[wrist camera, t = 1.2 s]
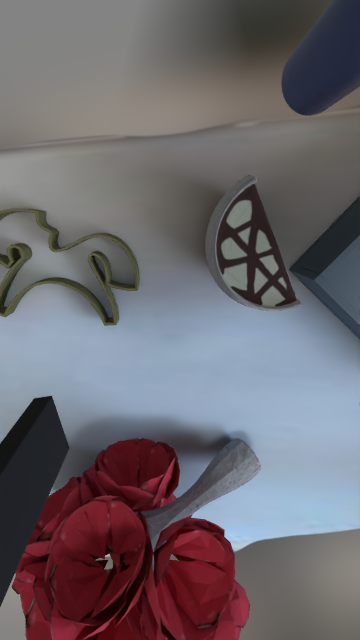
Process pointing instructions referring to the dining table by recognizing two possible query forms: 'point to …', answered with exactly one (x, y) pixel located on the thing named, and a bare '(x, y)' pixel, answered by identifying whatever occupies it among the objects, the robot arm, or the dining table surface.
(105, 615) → the bouquet
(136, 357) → the dining table surface
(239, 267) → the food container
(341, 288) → the tote
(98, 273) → the cookie cutter
